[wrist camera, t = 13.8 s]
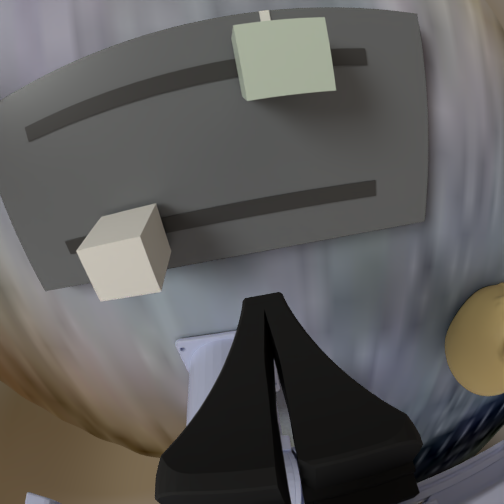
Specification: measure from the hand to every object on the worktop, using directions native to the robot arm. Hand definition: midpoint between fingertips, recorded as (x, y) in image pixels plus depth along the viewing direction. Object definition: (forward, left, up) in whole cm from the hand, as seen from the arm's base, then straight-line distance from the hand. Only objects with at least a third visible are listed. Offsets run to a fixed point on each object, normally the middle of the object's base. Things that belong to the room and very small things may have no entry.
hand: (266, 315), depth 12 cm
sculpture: (-16, -23, -11) cm, 30 cm away
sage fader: (+9, -3, -8) cm, 12 cm away
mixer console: (+5, +2, -10) cm, 12 cm away
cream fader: (+1, +7, -8) cm, 11 cm away
